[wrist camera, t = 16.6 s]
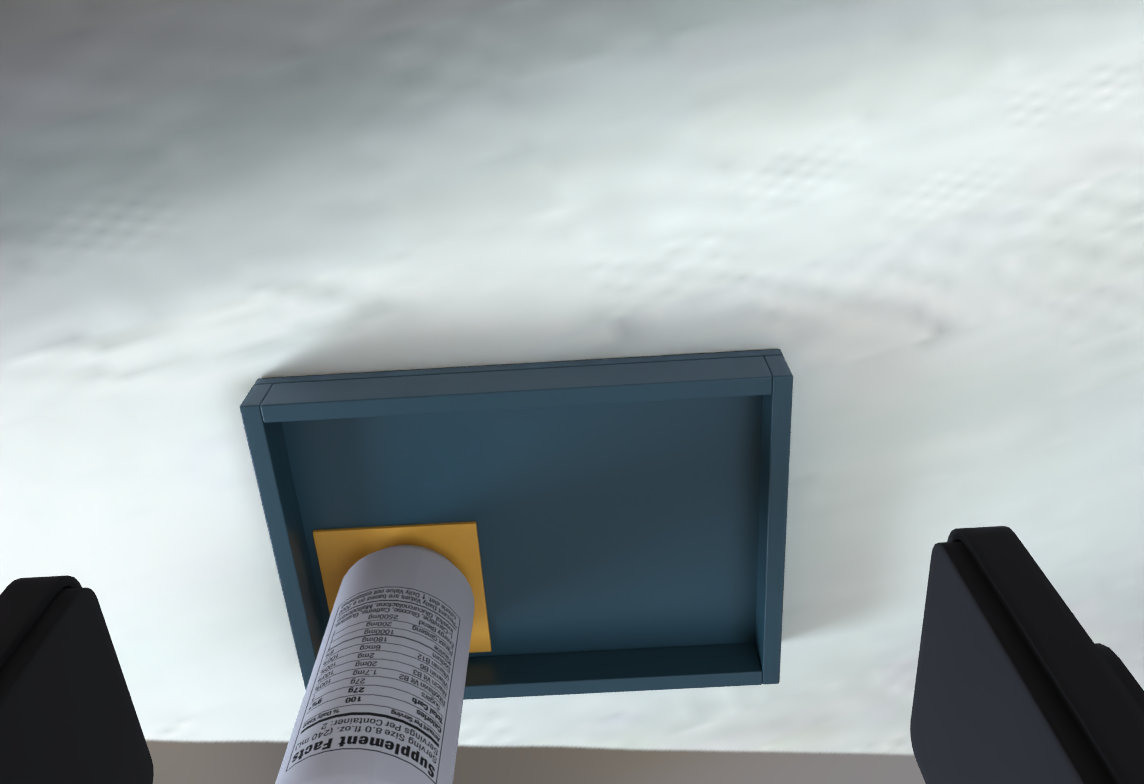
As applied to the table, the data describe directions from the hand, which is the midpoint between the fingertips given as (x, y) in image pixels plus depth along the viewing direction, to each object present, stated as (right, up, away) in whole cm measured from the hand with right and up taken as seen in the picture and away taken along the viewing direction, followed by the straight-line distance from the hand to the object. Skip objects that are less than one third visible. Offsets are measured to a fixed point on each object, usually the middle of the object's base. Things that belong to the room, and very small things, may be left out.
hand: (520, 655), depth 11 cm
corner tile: (-7, -6, +34) cm, 35 cm away
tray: (-1, -3, +33) cm, 33 cm away
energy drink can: (-7, -6, +34) cm, 35 cm away
